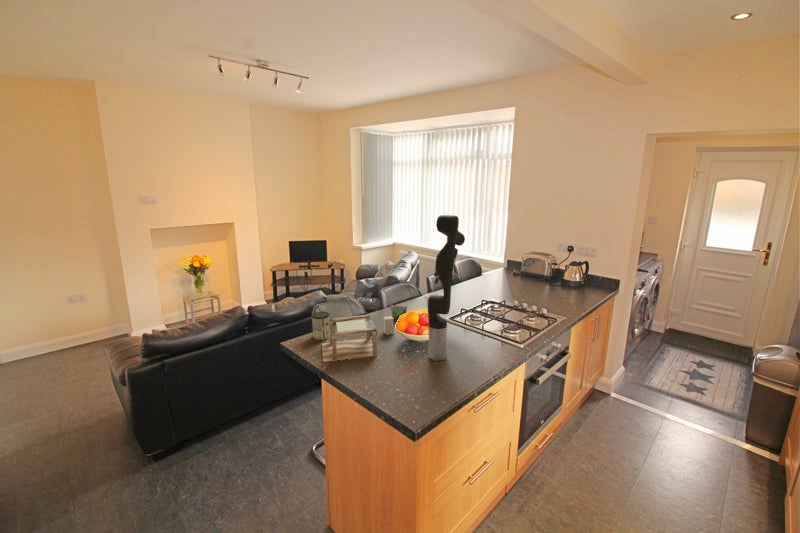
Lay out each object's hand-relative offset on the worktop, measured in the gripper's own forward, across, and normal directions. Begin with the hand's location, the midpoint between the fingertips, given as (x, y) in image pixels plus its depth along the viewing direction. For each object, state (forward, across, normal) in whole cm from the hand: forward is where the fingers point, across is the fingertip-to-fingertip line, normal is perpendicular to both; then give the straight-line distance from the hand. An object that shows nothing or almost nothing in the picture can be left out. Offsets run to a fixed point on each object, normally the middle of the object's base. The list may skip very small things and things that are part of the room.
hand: (441, 286), depth 230 cm
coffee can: (+40, -27, -63) cm, 80 cm away
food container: (+33, -17, -13) cm, 39 cm away
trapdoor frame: (+33, -2, -62) cm, 71 cm away
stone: (+31, -4, -31) cm, 44 cm away
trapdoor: (+22, -2, -59) cm, 63 cm away
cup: (+27, -6, +10) cm, 29 cm away
